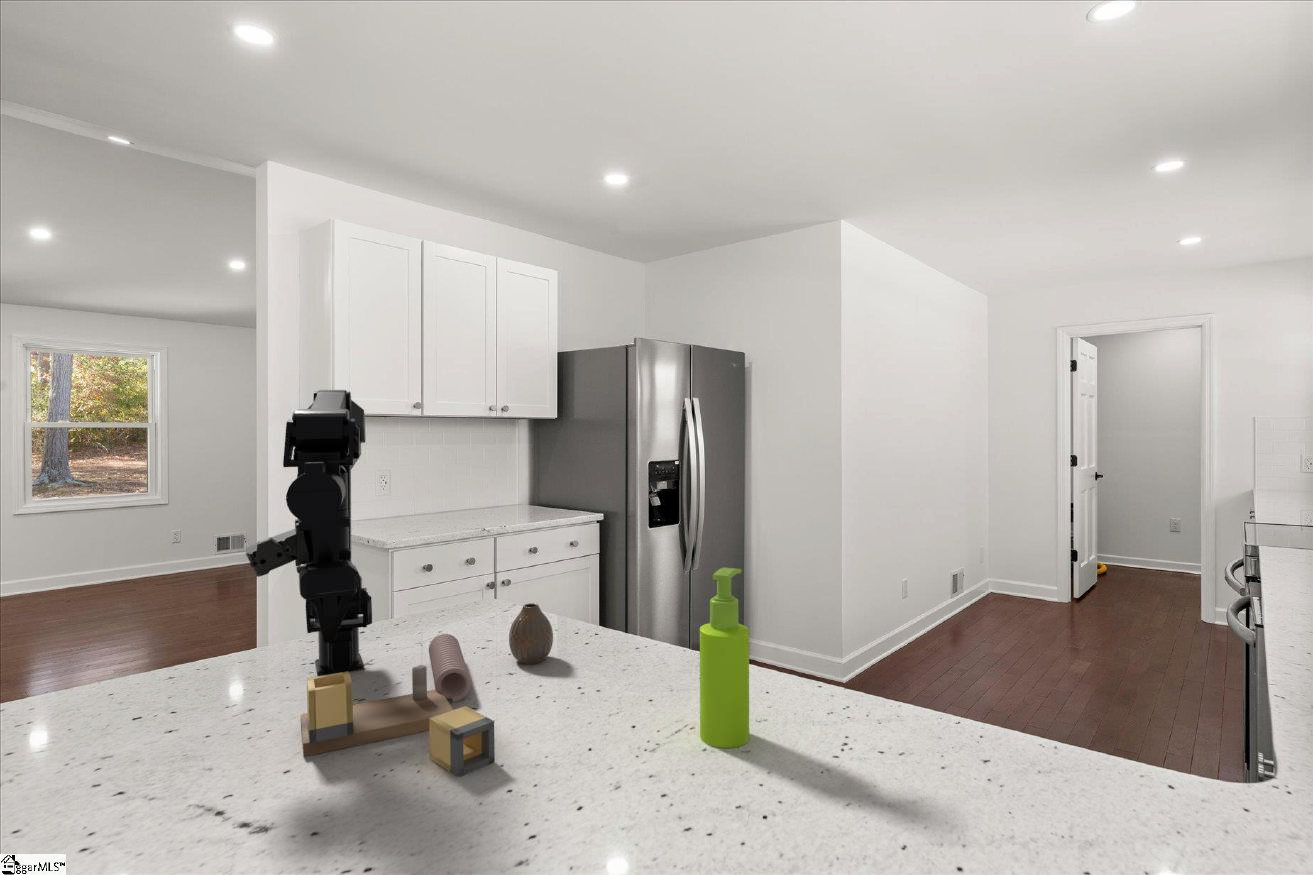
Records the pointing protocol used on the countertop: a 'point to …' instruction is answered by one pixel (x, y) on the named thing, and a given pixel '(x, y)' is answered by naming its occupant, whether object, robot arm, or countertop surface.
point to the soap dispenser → (724, 670)
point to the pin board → (385, 717)
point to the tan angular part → (461, 740)
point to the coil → (449, 667)
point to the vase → (531, 635)
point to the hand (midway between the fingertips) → (326, 631)
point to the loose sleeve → (329, 706)
